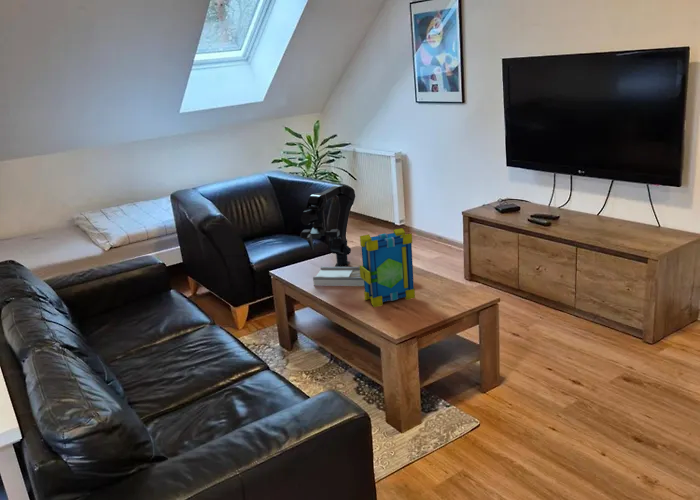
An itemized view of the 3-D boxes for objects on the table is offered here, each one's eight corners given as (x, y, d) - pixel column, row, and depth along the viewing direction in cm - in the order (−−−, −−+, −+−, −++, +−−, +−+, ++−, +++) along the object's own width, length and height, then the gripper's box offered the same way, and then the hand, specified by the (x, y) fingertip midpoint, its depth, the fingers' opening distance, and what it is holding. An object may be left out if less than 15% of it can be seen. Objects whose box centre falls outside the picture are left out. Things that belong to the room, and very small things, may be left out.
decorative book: (360, 299, 285) (355, 235, 276) (407, 288, 293) (403, 226, 283) (373, 310, 272) (368, 243, 263) (421, 299, 280) (418, 233, 271)
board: (322, 274, 320) (321, 264, 318) (382, 275, 312) (381, 264, 311) (313, 285, 306) (312, 275, 304) (377, 286, 298) (376, 275, 297)
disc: (355, 276, 314) (354, 269, 313) (376, 276, 310) (376, 270, 309) (348, 284, 304) (347, 277, 303) (369, 285, 301) (369, 278, 299)
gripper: (295, 224, 305) (298, 255, 310) (333, 224, 301) (335, 255, 306) (302, 218, 316) (305, 248, 320) (338, 217, 311) (341, 248, 316)
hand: (321, 250), depth 315 cm, fingers open, 9 cm apart
